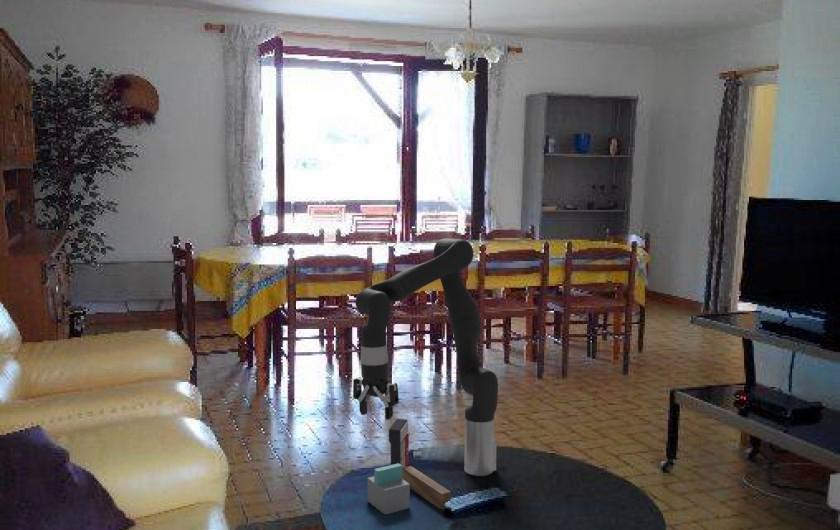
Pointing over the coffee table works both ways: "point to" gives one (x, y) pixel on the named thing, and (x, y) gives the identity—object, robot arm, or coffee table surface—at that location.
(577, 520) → the coffee table surface
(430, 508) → the coffee table surface
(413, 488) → the walnut beam
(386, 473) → the balance stand
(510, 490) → the coffee table surface
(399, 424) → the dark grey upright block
